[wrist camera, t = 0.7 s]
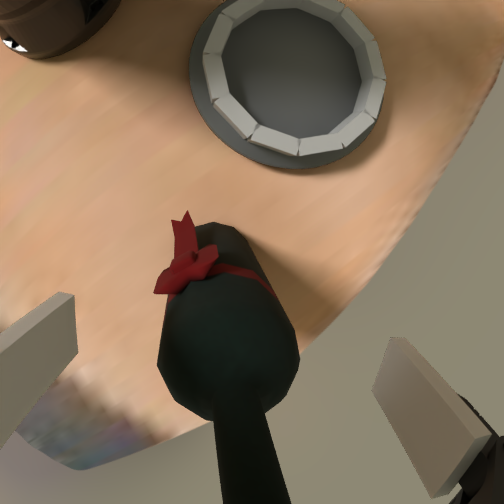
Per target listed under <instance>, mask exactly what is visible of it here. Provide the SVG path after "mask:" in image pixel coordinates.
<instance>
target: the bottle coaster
mask: <svg viewBox="0 0 504 504" xmlns="http://www.w3.org/2000/svg"><path fill="white" fill-rule="evenodd" d="M344 6H345V4H343V3H341V2H339V1H337V0H227V1H225V2H224V3H223V4H221V5H220V6H219V7H217V8H216V9H215V10H214V11H213V12H212V13H211V14H210V15H209V16H208V17H207V19H206V20H205V21H204V23H203V24H202V25H201V27H200V29H199V31H198V33H197V35H196V37H195V39H194V42H193V45H192V48H191V53H190V59H189V78H190V86H191V91H192V95H193V98H194V101H195V104H196V106H197V108H198V110H199V113H200V114H201V116H202V118H203V119H204V121H205V122H206V124H207V125H208V127H209V128H210V129H211V130H212V131H213V133H214V134H215V135H216V136H217V137H218V138H219V139H220V140H221V141H223V142H224V143H225V144H226V145H227V146H229V147H230V148H231V149H233V150H234V151H236V152H237V153H239V154H241V155H243V156H245V157H246V158H248V159H251V160H254V161H256V162H259V163H261V164H265V165H269V166H273V167H281V168H288V169H305V168H314V167H318V166H322V165H326V164H329V163H332V162H334V161H336V160H339V159H341V158H342V157H344V156H346V155H347V154H349V153H350V152H352V151H353V150H354V149H355V148H357V147H358V146H359V145H360V144H361V143H362V142H363V141H364V140H365V139H366V137H367V136H368V135H369V133H370V132H371V130H372V129H373V127H374V125H375V123H376V121H377V119H378V116H379V114H380V111H381V107H382V102H383V96H384V90H385V86H386V82H385V81H384V80H385V79H386V75H385V71H384V67H383V63H382V59H381V55H380V51H379V47H378V44H377V41H371V40H373V39H374V38H375V37H374V36H373V35H372V34H371V32H370V31H369V30H368V29H367V28H366V26H365V25H364V24H363V23H362V22H361V21H360V19H359V18H358V17H357V16H356V15H355V14H354V13H353V12H352V11H351V9H350V8H349V7H346V8H344Z"/></svg>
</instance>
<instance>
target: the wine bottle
mask: <svg viewBox="0 0 504 504" xmlns="http://www.w3.org/2000/svg"><path fill="white" fill-rule="evenodd" d="M171 222H172V227H173V232H174V236H175V247H174V259H173V260H172V262H171V264H170V267H169V268H167V269H165V270H163V272H162V273H161V274H160V276H159V277H158V279H157V283H156V286H155V289H154V292H153V293H154V294H168V298H167V304H166V309H165V315H164V321H163V328H162V334H161V340H160V347H159V354H158V360H157V367H158V369H159V371H160V373H161V375H162V377H163V379H164V381H165V383H166V385H167V387H168V389H169V391H170V393H171V395H172V397H173V398H174V400H175V401H176V402H177V403H179V404H181V405H182V406H184V407H185V408H187V409H188V410H190V411H192V412H193V413H195V414H196V415H198V416H200V417H201V418H203V419H205V420H208V421H213V422H214V432H215V441H216V450H217V459H218V468H219V476H220V483H221V491H222V498H223V504H291V501H290V497H289V495H288V491H287V488H286V485H285V481H284V478H283V475H282V471H281V468H280V464H279V461H278V458H277V455H276V451H275V448H274V444H273V441H272V437H271V434H270V430H269V427H268V423H267V420H266V416H265V413H266V412H267V411H269V410H270V409H271V408H273V407H274V406H275V405H276V404H278V403H279V402H281V401H282V399H283V398H284V397H285V396H286V395H287V392H288V390H289V388H290V386H291V384H292V382H293V380H294V378H295V375H296V373H297V371H298V367H299V362H300V356H299V350H298V345H297V340H296V335H295V330H294V328H293V326H292V324H291V322H290V320H289V319H288V317H287V315H286V313H285V311H284V309H283V307H282V305H281V304H280V302H279V300H278V298H277V296H276V294H275V292H274V290H273V289H272V287H271V285H270V283H269V281H268V279H267V277H266V276H265V274H264V272H263V270H262V268H261V266H260V264H259V262H258V261H257V259H256V257H255V255H254V253H253V251H252V249H251V247H250V246H249V244H248V242H247V241H246V240H245V238H244V237H243V236H242V235H241V234H240V233H239V232H238V231H237V230H236V229H235V228H234V227H231V226H227V225H223V224H220V223H216V222H211V223H207V224H204V225H200V226H196V227H195V226H194V224H193V222H192V219H191V217H190V215H189V212H188V210H187V212H186V214H185V215H184V217H183V219H182V221H181V222H180V221H176V220H171Z"/></svg>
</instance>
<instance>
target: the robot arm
mask: <svg viewBox="0 0 504 504" xmlns="http://www.w3.org/2000/svg"><path fill="white" fill-rule="evenodd" d="M120 1H121V0H0V37H1V39H2V41H3V42H4V44H5V45H6V46H7V47H8V48H9V49H11V50H12V51H14V52H16V53H18V54H20V55H22V56H24V57H27V58H33V59H43V58H49V57H54V56H57V55H60V54H62V53H65V52H67V51H69V50H71V49H73V48H75V47H77V46H78V45H80V44H82V43H83V42H85V41H86V40H87V39H89V38H90V37H91V36H92V35H94V34H95V33H96V32H97V31H98V30H99V29H100V28H101V27H102V26H103V25H104V24H105V23H106V22H107V21H108V20H109V18H110V17H111V16H112V14H113V13H114V12H115V10H116V8H117V7H118V5H119V3H120ZM77 354H78V345H77V334H76V319H75V299H74V295H72V294H68V293H64V292H58V293H56V294H55V295H53V296H52V297H51V298H49V299H48V300H46V301H45V302H43V303H42V304H40V305H39V306H38V307H36V308H35V309H33V310H32V311H30V312H29V313H28V314H26V315H25V316H23V317H22V318H21V319H19V320H18V321H17V322H15V323H14V324H12V325H11V326H10V327H8V328H7V329H6V330H4V331H3V332H2V333H0V449H1V448H2V447H3V445H4V444H5V443H6V441H7V440H8V439H9V437H10V436H11V435H12V433H13V432H14V431H15V430H16V428H17V427H18V426H19V424H20V423H21V422H22V420H23V419H24V418H25V417H26V415H27V414H28V413H29V412H30V410H31V409H32V408H33V407H34V405H35V404H36V403H37V402H38V400H39V399H40V398H41V397H42V395H43V394H44V393H45V392H46V390H47V389H48V388H49V387H50V386H51V384H52V383H53V382H54V381H55V380H56V378H57V377H58V376H59V375H60V374H61V372H62V371H63V370H64V369H65V368H66V366H67V365H68V364H69V363H70V362H71V361H72V359H73V358H74V357H75V356H76V355H77ZM372 392H373V394H374V396H375V397H376V399H377V401H378V403H379V404H380V406H381V408H382V410H383V411H384V413H385V415H386V417H387V419H388V420H389V422H390V424H391V425H392V427H393V429H394V431H395V433H396V435H397V436H398V438H399V440H400V442H401V444H402V445H403V447H404V449H405V451H406V453H407V455H408V456H409V458H410V460H411V462H412V464H413V466H414V467H415V469H416V471H417V473H418V475H419V477H420V479H421V480H422V482H423V484H424V486H425V488H426V490H427V492H428V494H429V496H430V497H431V499H433V498H436V497H440V496H443V495H446V494H449V493H450V492H451V491H452V489H453V488H454V487H455V485H456V484H457V483H458V482H459V484H460V485H461V487H462V489H461V490H460V491H459V492H458V494H457V495H456V496H455V497H454V499H452V501H451V502H450V503H449V504H504V436H501V437H499V436H498V435H497V433H496V432H495V431H494V430H493V429H492V428H491V427H490V425H489V424H488V423H487V422H486V421H485V420H484V418H483V417H482V416H479V413H478V412H477V411H476V410H475V409H474V407H473V406H472V405H471V404H470V403H469V402H468V401H467V400H466V399H465V398H463V397H462V396H460V395H459V394H457V393H456V392H455V391H454V390H453V389H452V388H451V387H450V386H449V385H448V383H447V382H446V381H445V380H444V379H443V378H442V377H441V376H440V375H439V374H438V372H437V371H436V370H435V369H434V368H433V367H432V366H431V365H430V364H429V363H428V362H427V361H426V360H425V359H424V357H423V356H422V355H421V354H420V353H419V352H418V351H417V350H416V349H415V348H414V347H413V346H412V345H411V344H410V343H409V342H408V341H407V339H405V338H393V337H390V340H389V344H388V347H387V349H386V353H385V355H384V358H383V361H382V364H381V367H380V369H379V372H378V375H377V377H376V380H375V383H374V385H373V388H372Z"/></svg>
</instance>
